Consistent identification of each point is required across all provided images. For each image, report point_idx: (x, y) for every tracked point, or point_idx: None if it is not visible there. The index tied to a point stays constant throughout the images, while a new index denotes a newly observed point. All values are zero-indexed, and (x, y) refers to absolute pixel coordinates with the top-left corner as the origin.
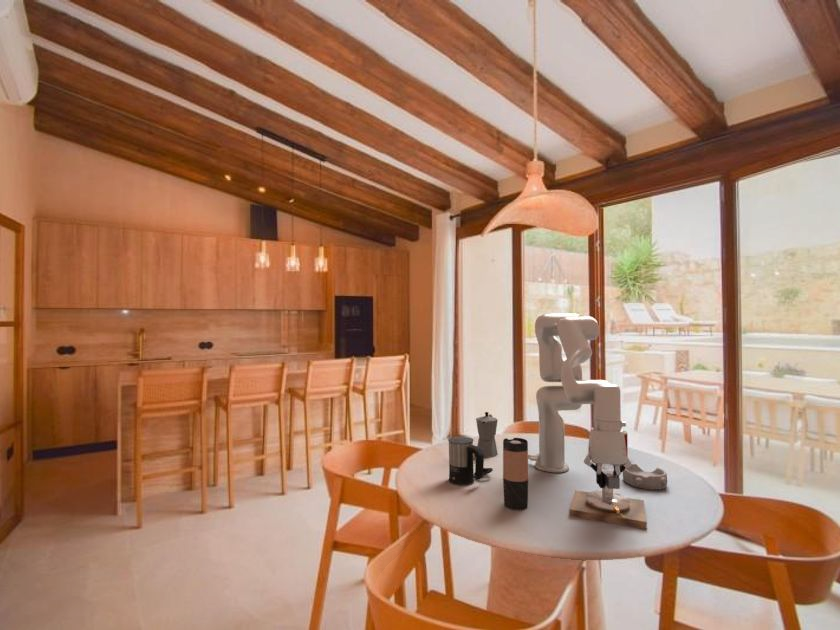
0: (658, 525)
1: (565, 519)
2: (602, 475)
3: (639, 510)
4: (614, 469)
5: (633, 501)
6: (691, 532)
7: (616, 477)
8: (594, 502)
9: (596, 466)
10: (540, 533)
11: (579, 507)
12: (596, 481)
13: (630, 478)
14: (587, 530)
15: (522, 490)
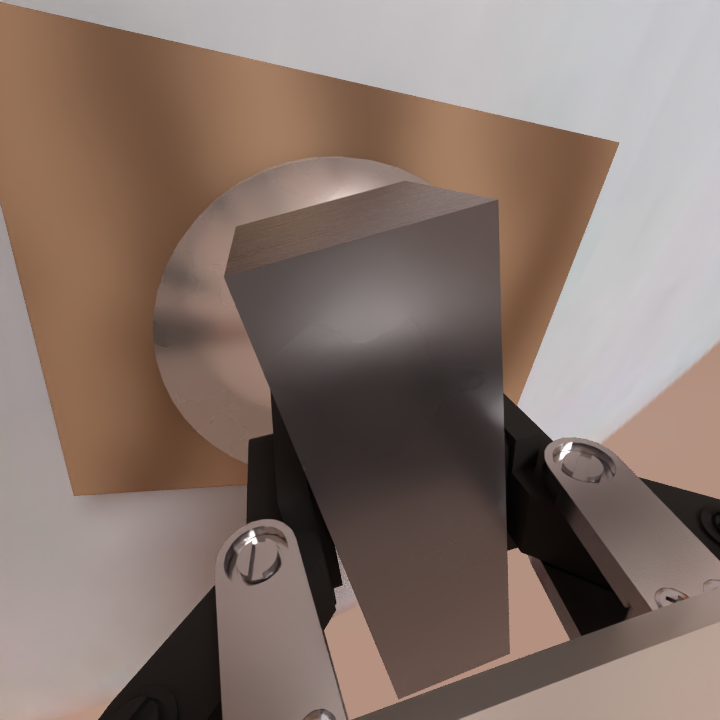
0: (540, 388)
1: (79, 505)
2: (337, 585)
3: (511, 349)
4: (567, 507)
5: (532, 197)
6: (635, 401)
7: (485, 651)
8: (239, 453)
9: (249, 657)
10: (12, 655)
11: (134, 447)
12: (250, 448)
13: None
14: (218, 552)
15: None
